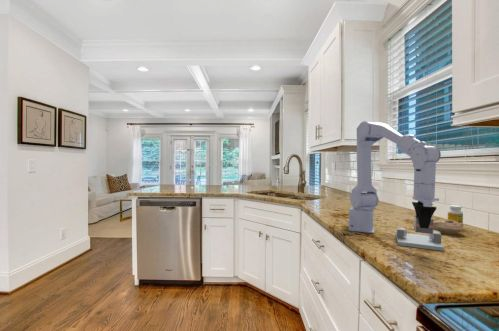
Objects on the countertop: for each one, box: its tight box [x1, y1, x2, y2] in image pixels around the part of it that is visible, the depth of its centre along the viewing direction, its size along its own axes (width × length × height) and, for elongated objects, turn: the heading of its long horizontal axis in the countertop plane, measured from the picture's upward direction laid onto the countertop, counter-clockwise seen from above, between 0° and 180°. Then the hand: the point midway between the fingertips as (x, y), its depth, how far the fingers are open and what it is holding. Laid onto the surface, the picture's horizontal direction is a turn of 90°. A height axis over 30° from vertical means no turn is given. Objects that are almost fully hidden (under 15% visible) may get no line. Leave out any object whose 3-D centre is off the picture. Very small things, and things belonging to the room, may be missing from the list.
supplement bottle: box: [447, 204, 464, 225], centre depth 120 cm, size 5×5×10 cm
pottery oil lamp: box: [433, 219, 466, 235], centre depth 111 cm, size 9×12×7 cm
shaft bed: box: [395, 226, 445, 252], centre depth 97 cm, size 13×14×4 cm
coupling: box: [413, 215, 434, 235], centre depth 88 cm, size 5×5×4 cm
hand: (422, 226), depth 88 cm, fingers closed on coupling, 5 cm apart
